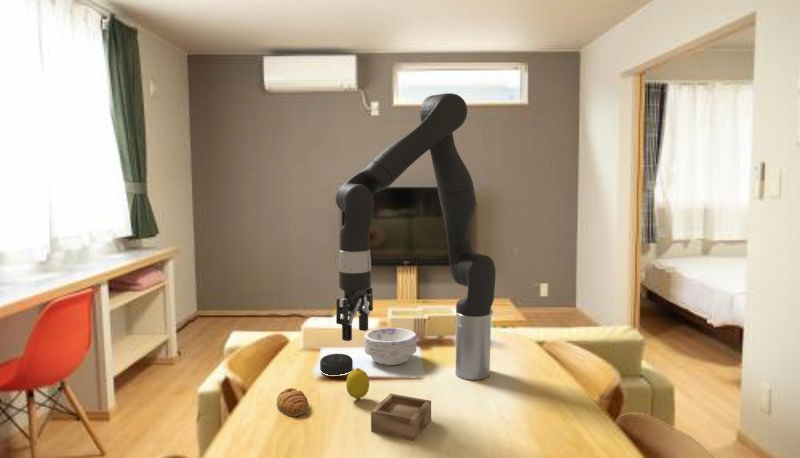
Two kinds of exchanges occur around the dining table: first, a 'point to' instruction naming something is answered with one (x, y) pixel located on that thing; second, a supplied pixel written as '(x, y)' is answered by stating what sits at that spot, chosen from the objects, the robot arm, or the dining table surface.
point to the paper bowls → (390, 345)
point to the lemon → (357, 383)
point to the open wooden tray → (401, 416)
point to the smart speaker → (336, 364)
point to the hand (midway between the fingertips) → (355, 335)
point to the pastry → (292, 402)
